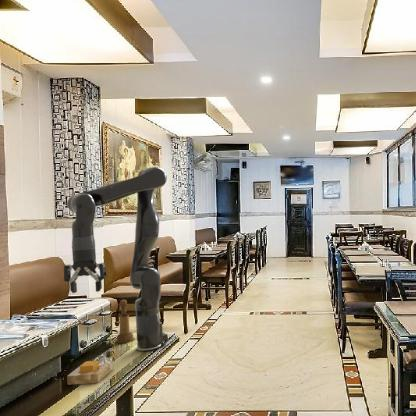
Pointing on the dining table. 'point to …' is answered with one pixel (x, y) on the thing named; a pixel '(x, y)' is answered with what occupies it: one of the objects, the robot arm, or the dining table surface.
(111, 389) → the dining table surface
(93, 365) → the orange block
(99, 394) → the dining table surface
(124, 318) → the brown tall wooden piece
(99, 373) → the wooden square tray
